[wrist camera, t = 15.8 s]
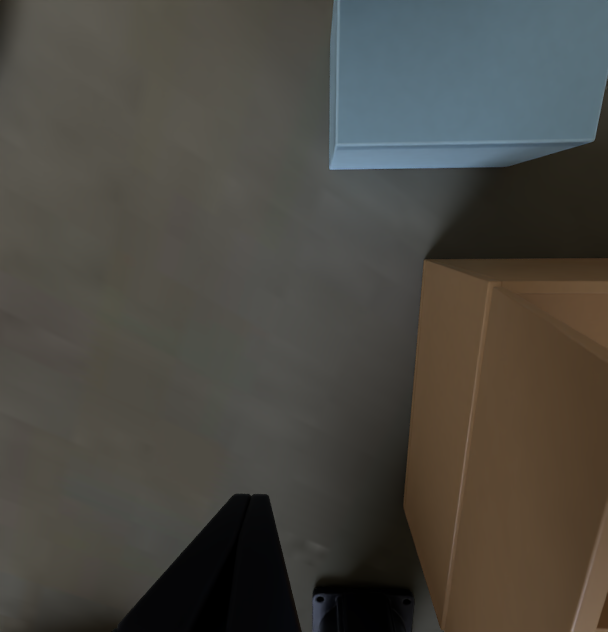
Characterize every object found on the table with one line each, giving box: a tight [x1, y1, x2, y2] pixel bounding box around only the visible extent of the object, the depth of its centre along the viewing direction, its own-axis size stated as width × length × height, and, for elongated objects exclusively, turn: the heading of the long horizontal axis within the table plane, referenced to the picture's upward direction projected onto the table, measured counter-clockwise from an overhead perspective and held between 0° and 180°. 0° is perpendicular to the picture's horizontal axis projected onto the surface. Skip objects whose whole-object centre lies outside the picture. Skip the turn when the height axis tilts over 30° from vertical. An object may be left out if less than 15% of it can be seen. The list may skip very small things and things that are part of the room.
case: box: [329, 0, 608, 170], centre depth 12 cm, size 5×8×5 cm, turn 90°
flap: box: [444, 287, 608, 632], centre depth 9 cm, size 15×6×1 cm
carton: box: [403, 258, 608, 632], centre depth 15 cm, size 15×13×6 cm
